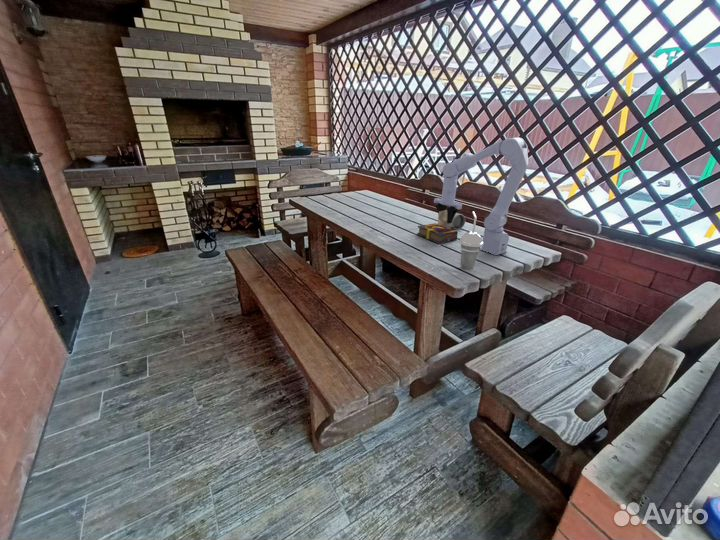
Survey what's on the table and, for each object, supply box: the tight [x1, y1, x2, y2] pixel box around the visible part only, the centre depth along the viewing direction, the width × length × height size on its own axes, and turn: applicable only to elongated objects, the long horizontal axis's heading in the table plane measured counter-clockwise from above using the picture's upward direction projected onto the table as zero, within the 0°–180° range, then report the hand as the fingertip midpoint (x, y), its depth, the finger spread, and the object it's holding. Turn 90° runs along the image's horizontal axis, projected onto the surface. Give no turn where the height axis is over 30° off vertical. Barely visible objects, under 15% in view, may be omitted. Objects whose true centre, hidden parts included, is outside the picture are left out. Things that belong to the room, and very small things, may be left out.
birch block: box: [437, 209, 453, 227], centre depth 148 cm, size 4×4×6 cm
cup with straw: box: [458, 211, 484, 271], centre depth 118 cm, size 8×9×20 cm
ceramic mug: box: [447, 212, 466, 231], centre depth 166 cm, size 11×8×8 cm
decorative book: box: [416, 222, 459, 245], centre depth 152 cm, size 11×16×5 cm
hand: (445, 221), depth 148 cm, fingers closed on birch block, 4 cm apart
